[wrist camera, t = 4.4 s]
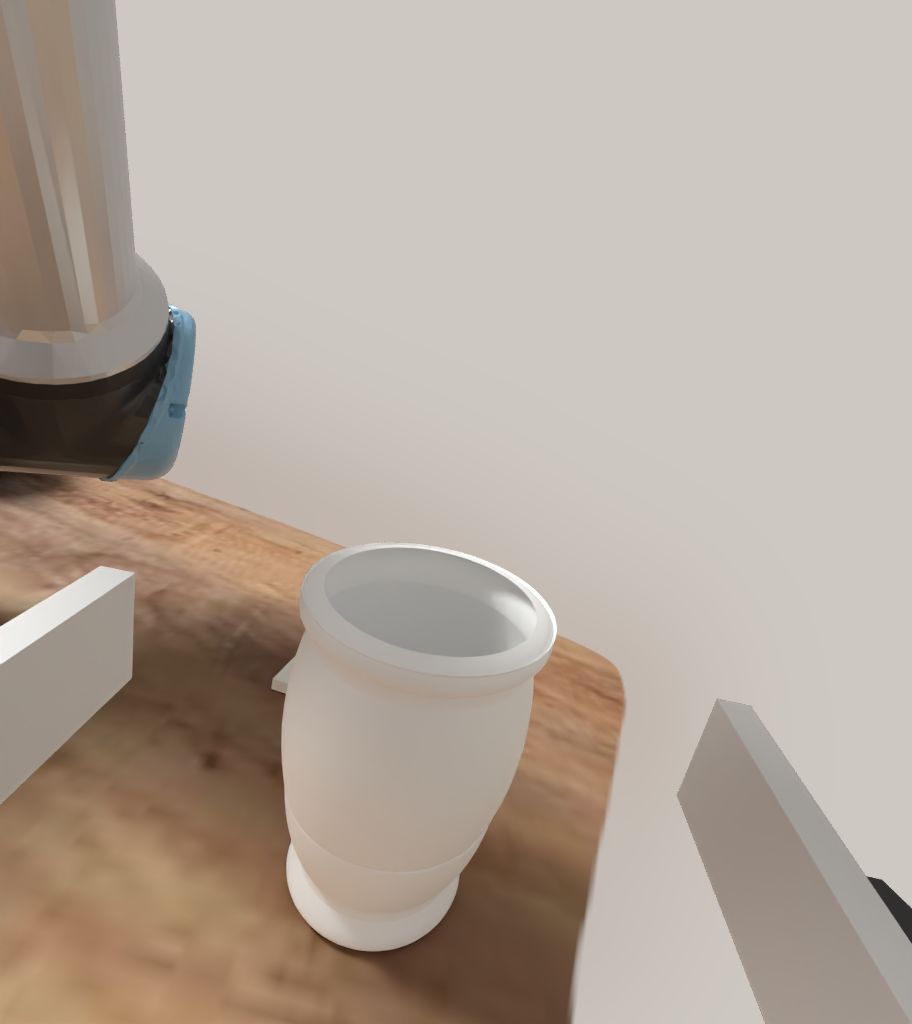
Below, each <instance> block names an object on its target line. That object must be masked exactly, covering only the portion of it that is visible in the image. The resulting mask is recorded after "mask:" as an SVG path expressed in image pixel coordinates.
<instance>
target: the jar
mask: <svg viewBox="0 0 912 1024" xmlns="http://www.w3.org/2000/svg"><path fill="white" fill-rule="evenodd" d="M299 610H300V615H301V619H302V622H303V625H304V627H305V629H306V630H305V632H304V634H303V637H302V639H301V642H300V644H299V647H298V650H297V653H296V656H295V659H294V663H293V666H292V670H291V674H290V678H289V682H288V687H287V691H286V697H285V703H284V710H283V720H282V738H281V750H282V769H283V779H284V786H285V810H286V818H287V824H288V829H289V833H290V837H291V843H290V846H289V850H288V855H287V863H286V874H287V882H288V887H289V891H290V894H291V897H292V899H293V902H294V904H295V906H296V908H297V909H298V911H299V913H300V914H301V915H302V917H303V918H304V919H305V921H306V922H307V923H308V924H309V925H310V926H311V927H312V928H313V929H314V930H316V931H317V932H318V933H319V934H321V935H322V936H323V937H325V938H327V939H328V940H330V941H332V942H334V943H336V944H338V945H341V946H344V947H347V948H351V949H355V950H360V951H385V950H392V949H396V948H399V947H402V946H405V945H408V944H410V943H412V942H414V941H416V940H418V939H420V938H421V937H423V936H424V935H426V934H427V933H428V932H430V931H431V930H432V929H433V928H434V927H435V926H436V925H437V924H438V923H439V922H440V921H441V920H442V918H443V917H444V916H445V914H446V913H447V911H448V910H449V908H450V906H451V904H452V902H453V900H454V897H455V895H456V892H457V888H458V884H459V877H460V873H461V872H462V870H463V869H464V868H465V867H466V865H467V864H468V863H469V861H470V860H471V858H472V857H473V855H474V854H475V852H476V850H477V849H478V847H479V845H480V843H481V841H482V839H483V837H484V835H485V833H486V831H487V829H488V826H489V824H490V822H491V820H492V819H493V817H494V816H495V814H496V812H497V811H498V809H499V807H500V805H501V804H502V802H503V800H504V798H505V796H506V794H507V792H508V789H509V787H510V785H511V783H512V780H513V778H514V775H515V773H516V770H517V767H518V764H519V761H520V758H521V755H522V751H523V748H524V744H525V740H526V735H527V730H528V725H529V720H530V714H531V707H532V698H533V684H534V675H536V674H537V673H538V672H539V671H540V670H541V669H542V668H543V666H544V665H545V664H546V662H547V661H548V659H549V657H550V655H551V652H552V649H553V644H554V641H555V638H556V632H557V626H556V621H555V617H554V615H553V612H552V610H551V609H550V607H549V605H548V604H547V603H546V601H545V600H544V599H543V598H542V597H541V596H540V594H539V593H538V592H536V591H535V590H534V589H533V588H532V587H531V586H530V585H528V584H527V583H526V582H524V581H523V580H521V579H520V578H518V577H517V576H515V575H513V574H512V573H510V572H508V571H506V570H504V569H502V568H501V567H499V566H496V565H494V564H492V563H490V562H487V561H485V560H482V559H480V558H477V557H474V556H471V555H468V554H465V553H461V552H458V551H454V550H450V549H445V548H441V547H436V546H430V545H423V544H413V543H396V542H393V543H391V542H390V543H371V544H363V545H358V546H352V547H348V548H344V549H341V550H338V551H336V552H333V553H331V554H329V555H327V556H325V557H323V558H322V559H320V560H319V561H317V562H316V563H315V564H314V565H313V566H312V567H311V568H310V569H309V570H308V572H307V573H306V575H305V577H304V579H303V583H302V589H301V592H300V597H299Z"/></svg>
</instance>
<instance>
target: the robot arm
mask: <svg viewBox="0 0 912 1024" xmlns="http://www.w3.org/2000/svg"><path fill="white" fill-rule="evenodd" d="M131 211H132V210H131V198H130V186H129V173H128V160H127V147H126V134H125V121H124V109H123V96H122V83H121V71H120V58H119V45H118V33H117V20H116V9H115V0H0V471H11V472H25V473H39V474H53V475H66V476H77V477H89V478H99V479H100V480H102V481H109V482H112V481H116V480H118V479H134V480H152V479H157V478H160V477H162V476H164V475H165V474H166V473H168V472H169V471H170V469H171V468H172V467H173V465H174V463H175V460H176V457H177V454H178V450H179V446H180V442H181V437H182V433H183V427H184V421H185V408H186V407H187V401H188V396H189V393H190V386H191V379H192V371H193V363H194V353H195V339H196V325H195V321H194V319H193V318H192V316H191V315H190V314H189V313H187V312H185V311H182V310H179V309H178V308H177V307H175V306H173V305H169V304H168V301H167V297H166V293H165V289H164V287H163V285H162V283H161V281H160V279H159V277H158V276H157V275H156V273H155V272H154V271H153V269H152V268H151V267H150V266H149V265H148V264H147V263H146V262H145V260H144V259H143V258H141V257H140V256H139V255H138V254H137V253H135V248H134V236H133V223H132V212H131ZM134 592H135V573H132V572H127V571H123V570H118V569H113V568H109V567H104V566H100V567H98V568H97V569H95V570H93V571H92V572H90V573H88V574H87V575H85V576H83V577H82V578H80V579H78V580H77V581H75V582H73V583H72V584H70V585H68V586H67V587H65V588H63V589H62V590H60V591H58V592H57V593H55V594H53V595H52V596H50V597H48V598H47V599H45V600H43V601H42V602H40V603H39V604H37V605H35V606H34V607H32V608H30V609H29V610H27V611H25V612H24V613H22V614H20V615H19V616H17V617H15V618H14V619H12V620H10V621H9V622H7V623H5V624H4V625H2V626H0V805H1V804H2V803H3V802H4V801H5V800H6V799H7V798H8V797H9V796H10V795H11V794H12V793H13V792H14V791H15V790H16V789H17V788H18V787H19V786H20V785H21V784H22V783H23V782H25V781H26V780H27V779H28V778H29V777H30V776H31V775H32V774H33V773H34V772H35V771H36V770H37V769H38V768H39V767H40V766H41V765H42V764H43V763H44V762H45V761H46V760H47V759H48V758H49V757H50V756H52V755H53V754H54V753H55V752H56V751H57V750H58V749H59V748H60V747H61V746H62V745H63V744H64V743H65V742H66V741H67V740H68V739H69V738H70V737H71V736H72V735H73V734H74V733H75V732H76V731H78V730H79V729H80V728H81V727H82V726H83V725H84V724H85V723H86V722H87V721H88V720H89V719H90V718H91V717H92V716H93V715H94V714H95V713H96V712H97V711H98V710H99V709H100V708H101V707H102V706H103V705H105V704H106V703H107V702H108V701H109V700H110V699H111V698H112V697H113V696H114V695H115V694H116V693H117V692H118V691H119V690H120V689H121V688H122V687H123V686H124V685H125V684H126V683H127V682H128V681H129V680H130V679H132V665H133V629H134ZM677 797H678V799H679V802H680V805H681V807H682V810H683V812H684V815H685V818H686V820H687V823H688V825H689V828H690V830H691V833H692V836H693V838H694V841H695V843H696V846H697V848H698V851H699V854H700V856H701V859H702V861H703V864H704V867H705V869H706V872H707V874H708V877H709V879H710V882H711V885H712V887H713V890H714V892H715V895H716V897H717V900H718V903H719V905H720V908H721V910H722V913H723V915H724V918H725V921H726V923H727V926H728V928H729V931H730V933H731V936H732V939H733V941H734V944H735V946H736V949H737V952H738V954H739V957H740V959H741V962H742V964H743V967H744V970H745V972H746V975H747V977H748V980H749V982H750V985H751V988H752V990H753V993H754V995H755V998H756V1001H757V1003H758V1006H759V1008H760V1011H761V1013H762V1016H763V1018H764V1021H765V1024H912V908H910V906H909V905H907V904H906V903H905V902H904V901H903V900H902V899H901V898H900V897H899V896H898V895H897V894H896V893H895V892H894V891H893V890H892V889H891V888H890V887H889V886H888V885H887V884H886V883H885V882H884V881H882V880H880V879H876V878H872V877H867V876H866V875H865V874H864V873H863V871H862V869H861V868H860V867H859V865H858V864H857V862H856V861H855V859H854V858H853V856H852V855H851V853H850V852H849V850H848V849H847V848H846V846H845V844H844V843H843V841H842V840H841V838H840V837H839V835H838V834H837V832H836V831H835V829H834V828H833V827H832V825H831V824H830V822H829V821H828V819H827V818H826V816H825V815H824V813H823V812H822V810H821V809H820V807H819V806H818V804H817V803H816V802H815V800H814V798H813V797H812V795H811V794H810V793H809V791H808V790H807V788H806V787H805V785H804V784H803V782H802V781H801V779H800V778H799V776H798V775H797V773H796V772H795V770H794V769H793V767H792V766H791V764H790V763H789V762H788V760H787V759H786V757H785V756H784V754H783V753H782V751H781V750H780V748H779V747H778V745H777V744H776V742H775V741H774V739H773V738H772V736H771V735H770V733H769V732H768V730H767V729H766V728H765V726H764V725H763V723H762V722H761V720H760V719H759V717H758V716H757V714H756V713H755V711H754V710H753V708H752V707H751V706H749V705H745V704H740V703H735V702H730V701H726V700H721V699H717V700H716V702H715V705H714V707H713V709H712V712H711V714H710V717H709V719H708V722H707V724H706V726H705V729H704V731H703V734H702V736H701V738H700V741H699V743H698V746H697V748H696V750H695V753H694V755H693V758H692V760H691V762H690V765H689V767H688V770H687V772H686V774H685V777H684V779H683V782H682V784H681V786H680V789H679V791H678V794H677Z"/></svg>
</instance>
